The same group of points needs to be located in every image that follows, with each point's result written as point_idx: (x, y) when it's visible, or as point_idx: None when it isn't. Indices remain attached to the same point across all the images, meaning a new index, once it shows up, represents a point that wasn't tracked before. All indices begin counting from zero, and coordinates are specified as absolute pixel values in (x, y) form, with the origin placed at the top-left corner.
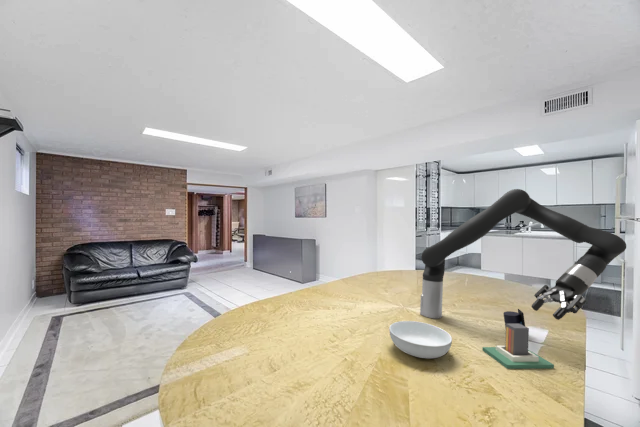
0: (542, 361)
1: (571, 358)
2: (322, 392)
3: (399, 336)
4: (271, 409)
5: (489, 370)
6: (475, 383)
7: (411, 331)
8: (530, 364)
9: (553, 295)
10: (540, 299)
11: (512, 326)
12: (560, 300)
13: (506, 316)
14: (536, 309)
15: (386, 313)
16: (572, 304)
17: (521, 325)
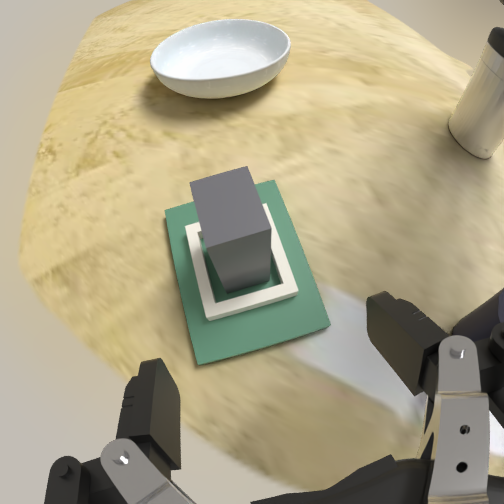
0: (214, 336)
1: (308, 471)
2: (108, 40)
3: (253, 47)
4: (93, 33)
5: (154, 174)
6: (107, 144)
7: (277, 54)
8: (180, 281)
9: (389, 498)
10: (436, 363)
11: (211, 180)
12: (173, 490)
13: (498, 294)
14: (371, 333)
15: (407, 62)
16: (56, 500)
17: (241, 227)
